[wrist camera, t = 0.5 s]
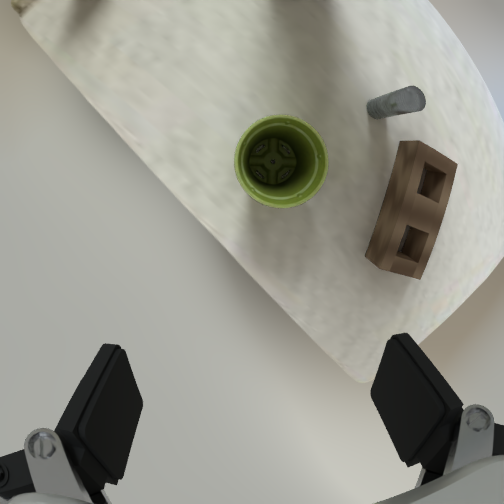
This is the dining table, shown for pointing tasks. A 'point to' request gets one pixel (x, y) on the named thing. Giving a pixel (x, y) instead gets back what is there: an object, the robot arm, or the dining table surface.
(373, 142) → the dining table surface
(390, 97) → the pin
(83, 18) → the dining table surface
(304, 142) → the plant pot
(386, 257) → the socket block
